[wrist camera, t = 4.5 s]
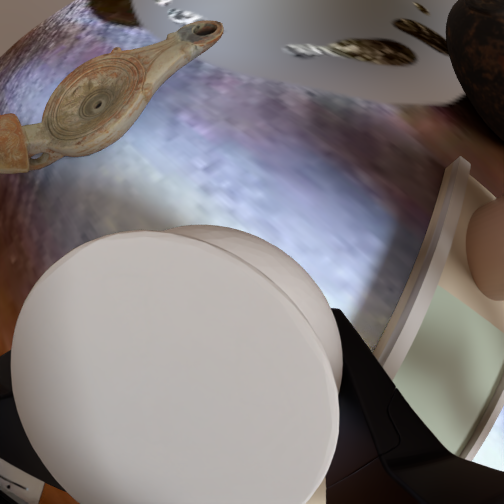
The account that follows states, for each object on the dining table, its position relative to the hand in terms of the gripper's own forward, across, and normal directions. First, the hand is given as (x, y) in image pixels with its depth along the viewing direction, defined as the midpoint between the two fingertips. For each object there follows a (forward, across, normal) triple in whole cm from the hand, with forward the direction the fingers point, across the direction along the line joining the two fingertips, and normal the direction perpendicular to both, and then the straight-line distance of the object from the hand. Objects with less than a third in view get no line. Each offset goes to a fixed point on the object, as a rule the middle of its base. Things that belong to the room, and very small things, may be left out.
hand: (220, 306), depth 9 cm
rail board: (+1, -13, +10) cm, 16 cm away
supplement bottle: (+4, 0, +6) cm, 7 cm away
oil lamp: (+14, +11, -4) cm, 19 cm away
